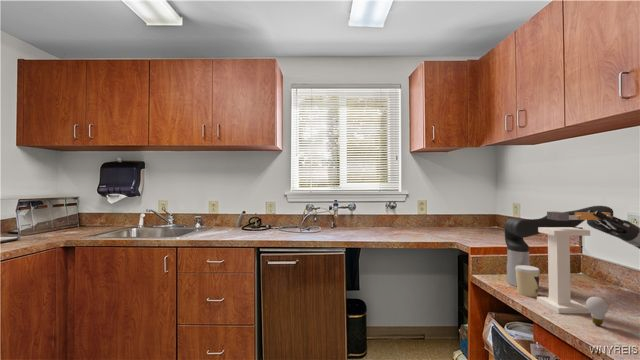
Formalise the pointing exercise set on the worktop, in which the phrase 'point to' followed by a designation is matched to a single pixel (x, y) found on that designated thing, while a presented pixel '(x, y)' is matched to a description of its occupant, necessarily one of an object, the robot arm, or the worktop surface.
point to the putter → (573, 216)
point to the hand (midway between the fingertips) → (592, 212)
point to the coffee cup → (527, 280)
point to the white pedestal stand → (560, 270)
